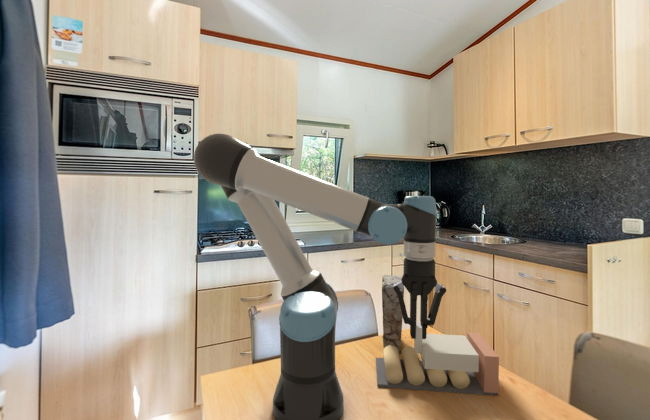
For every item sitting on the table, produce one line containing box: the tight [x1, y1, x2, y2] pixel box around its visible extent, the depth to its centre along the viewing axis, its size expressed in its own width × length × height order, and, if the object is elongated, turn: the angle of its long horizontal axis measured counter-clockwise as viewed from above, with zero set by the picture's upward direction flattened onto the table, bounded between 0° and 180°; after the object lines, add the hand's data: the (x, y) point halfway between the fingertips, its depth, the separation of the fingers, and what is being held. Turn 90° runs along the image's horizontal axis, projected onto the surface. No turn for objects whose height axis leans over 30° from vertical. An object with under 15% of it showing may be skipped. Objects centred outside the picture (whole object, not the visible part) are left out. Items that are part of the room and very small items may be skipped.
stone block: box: [381, 274, 405, 355], centre depth 93 cm, size 13×7×20 cm, turn 176°
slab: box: [419, 333, 479, 372], centre depth 76 cm, size 12×10×4 cm
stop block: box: [466, 332, 500, 396], centre depth 75 cm, size 3×12×9 cm, turn 172°
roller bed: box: [375, 345, 499, 396], centre depth 77 cm, size 27×12×5 cm, turn 82°
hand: (417, 350), depth 77 cm, fingers closed
